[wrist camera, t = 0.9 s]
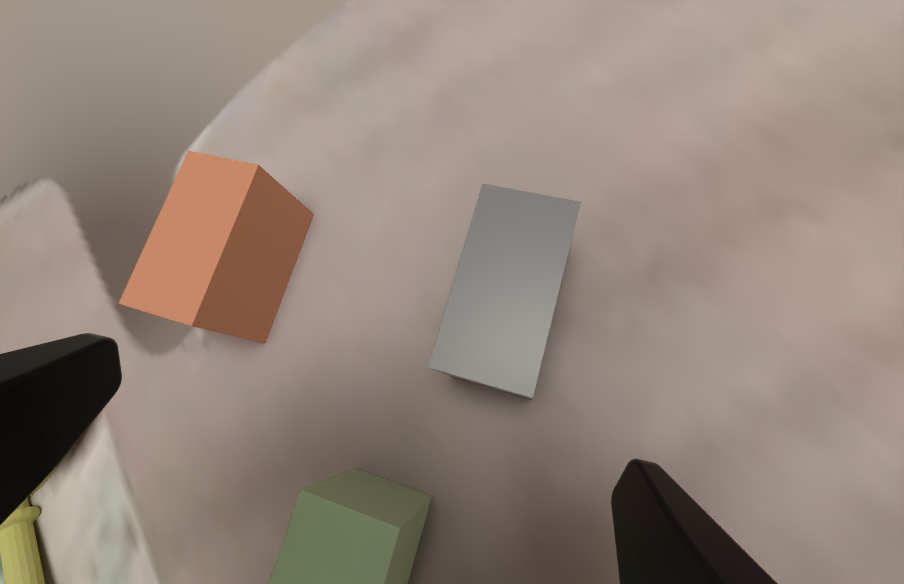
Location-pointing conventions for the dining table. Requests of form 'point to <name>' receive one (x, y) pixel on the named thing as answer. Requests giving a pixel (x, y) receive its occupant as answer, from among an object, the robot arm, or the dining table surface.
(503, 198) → the gray brick
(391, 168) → the dining table surface
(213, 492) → the dining table surface
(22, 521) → the key
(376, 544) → the green brick
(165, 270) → the rust brick
